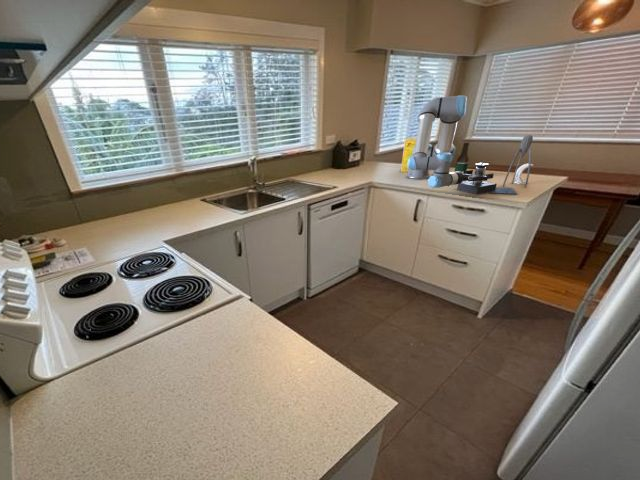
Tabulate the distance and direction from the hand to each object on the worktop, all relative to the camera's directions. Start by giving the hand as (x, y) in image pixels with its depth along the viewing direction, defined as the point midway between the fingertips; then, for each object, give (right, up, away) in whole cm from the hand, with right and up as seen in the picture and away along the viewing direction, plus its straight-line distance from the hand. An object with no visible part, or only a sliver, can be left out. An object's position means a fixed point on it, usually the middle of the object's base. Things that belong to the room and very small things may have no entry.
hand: (482, 173), depth 181 cm
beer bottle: (+10, +7, +36) cm, 38 cm away
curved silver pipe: (+32, -4, +10) cm, 34 cm away
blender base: (-1, -9, +4) cm, 10 cm away
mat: (+10, -11, -2) cm, 15 cm away
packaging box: (-5, +23, +71) cm, 74 cm away
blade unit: (-1, -9, +4) cm, 10 cm away
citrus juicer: (+23, -6, +6) cm, 25 cm away
